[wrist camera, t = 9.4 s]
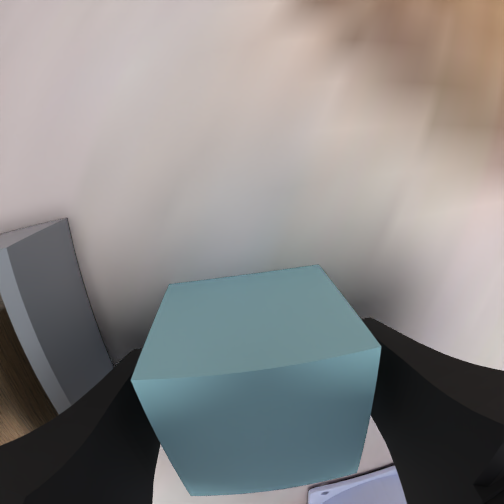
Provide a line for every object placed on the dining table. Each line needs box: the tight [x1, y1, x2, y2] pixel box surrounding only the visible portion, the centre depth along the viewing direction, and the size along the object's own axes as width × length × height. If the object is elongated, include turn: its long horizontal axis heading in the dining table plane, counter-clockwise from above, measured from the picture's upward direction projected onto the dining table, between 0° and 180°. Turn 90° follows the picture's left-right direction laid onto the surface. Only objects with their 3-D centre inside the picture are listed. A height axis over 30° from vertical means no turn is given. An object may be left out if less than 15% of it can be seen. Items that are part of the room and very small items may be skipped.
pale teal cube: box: [131, 265, 381, 496], centre depth 9 cm, size 5×5×5 cm
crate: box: [0, 218, 113, 414], centre depth 9 cm, size 9×9×4 cm
